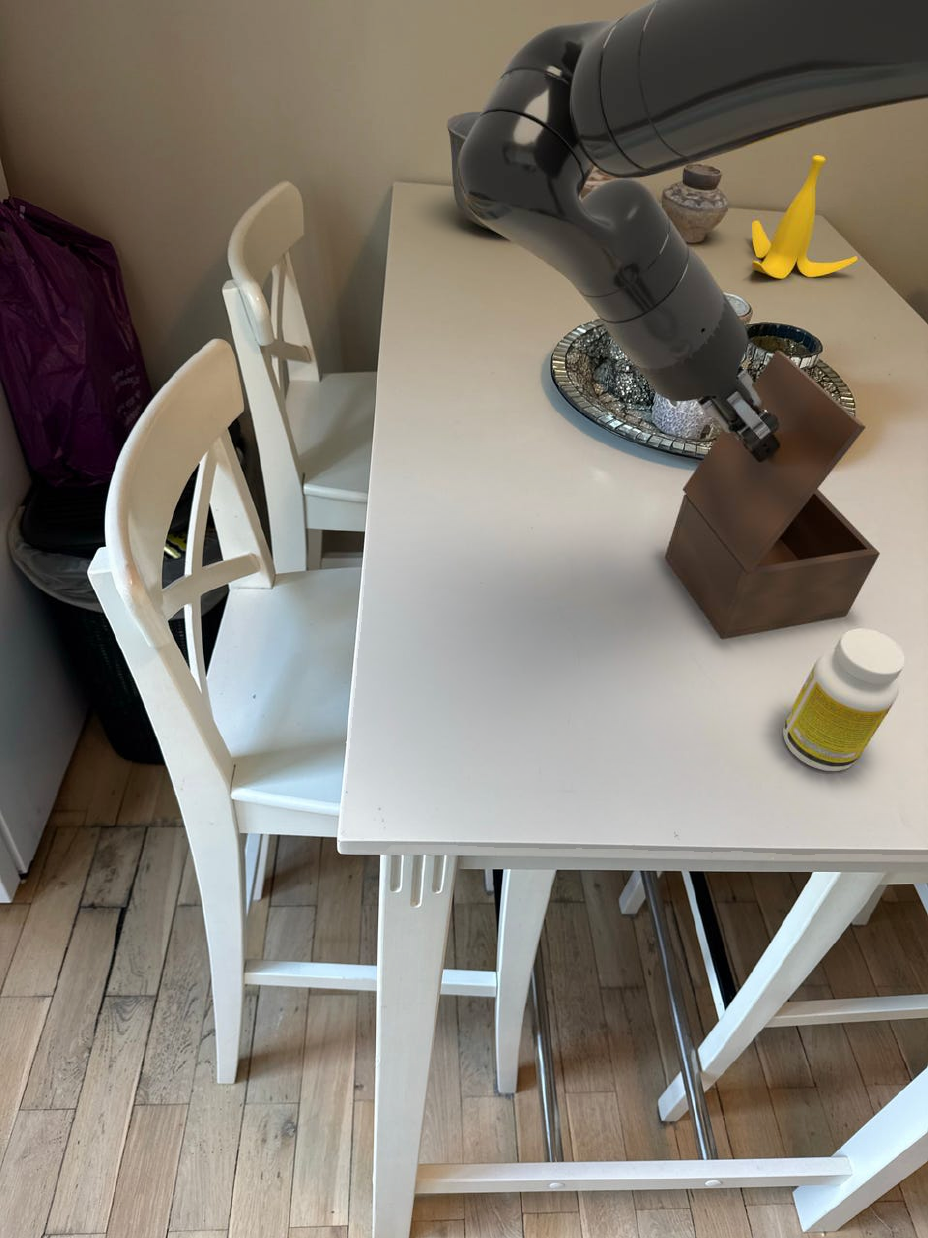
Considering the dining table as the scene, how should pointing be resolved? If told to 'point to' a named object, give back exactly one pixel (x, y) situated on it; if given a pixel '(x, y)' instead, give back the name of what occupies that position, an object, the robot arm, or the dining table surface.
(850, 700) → the pill bottle
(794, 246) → the banana peel
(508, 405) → the dining table surface
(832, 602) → the chest
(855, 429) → the lid
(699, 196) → the pottery
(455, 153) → the bowl
